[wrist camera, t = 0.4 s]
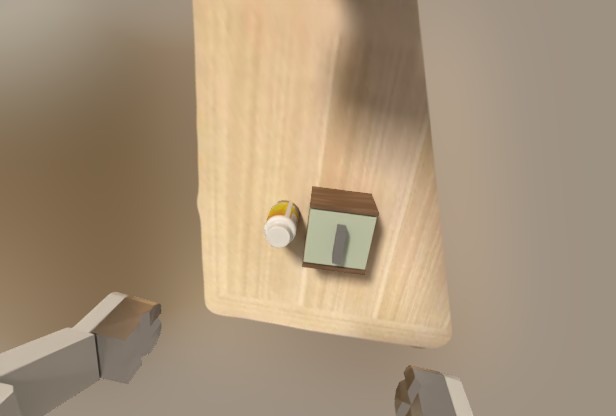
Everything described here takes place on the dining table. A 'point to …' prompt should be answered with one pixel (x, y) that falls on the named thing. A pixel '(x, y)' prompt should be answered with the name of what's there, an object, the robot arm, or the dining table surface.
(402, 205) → the dining table surface
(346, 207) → the walnut box
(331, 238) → the lid
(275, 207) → the supplement bottle
